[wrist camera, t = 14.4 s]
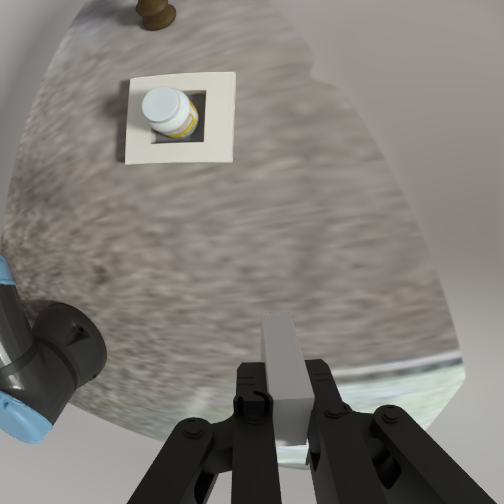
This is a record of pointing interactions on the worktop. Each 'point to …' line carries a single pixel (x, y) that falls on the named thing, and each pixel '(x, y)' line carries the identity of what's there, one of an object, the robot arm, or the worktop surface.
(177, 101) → the supplement bottle
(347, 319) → the worktop surface
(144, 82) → the socket block
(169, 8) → the kendama
